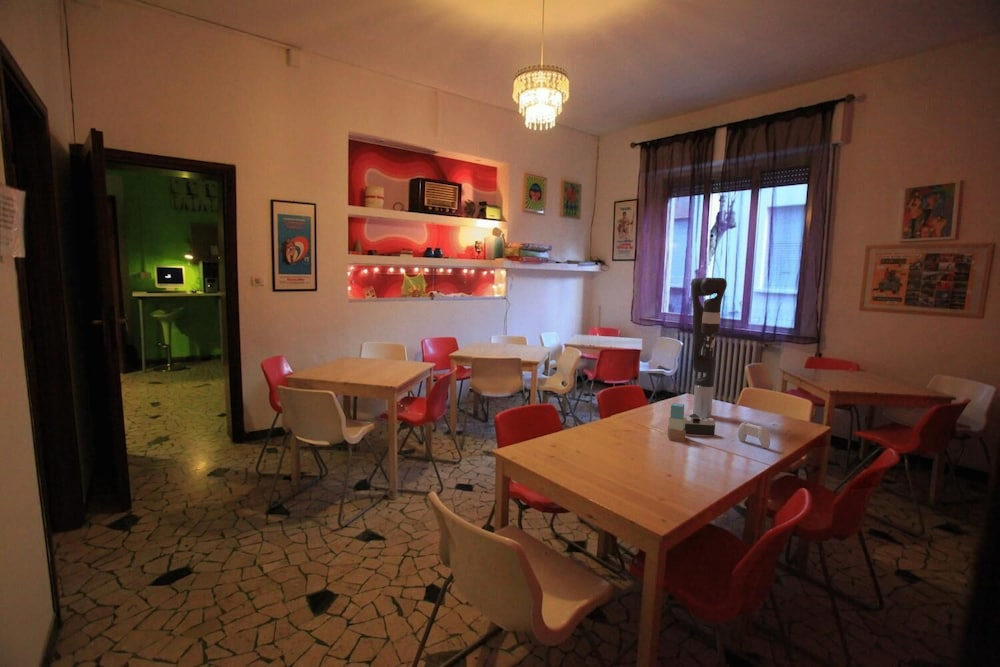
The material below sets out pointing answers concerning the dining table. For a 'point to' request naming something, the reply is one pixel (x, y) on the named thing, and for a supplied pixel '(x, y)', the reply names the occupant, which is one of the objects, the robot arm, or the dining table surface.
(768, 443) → the game controller
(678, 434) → the walnut base block
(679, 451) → the dining table surface
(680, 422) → the sage block
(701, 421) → the camera
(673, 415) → the teal block
